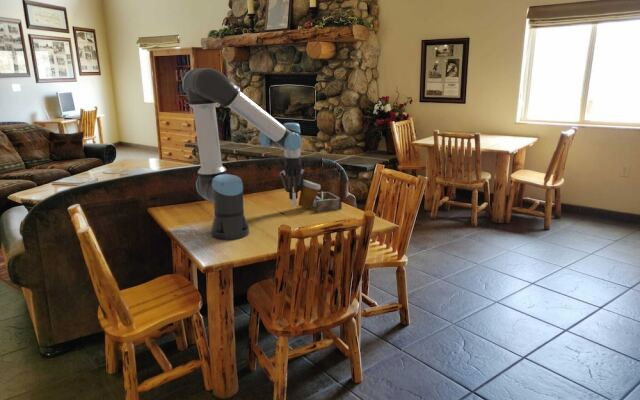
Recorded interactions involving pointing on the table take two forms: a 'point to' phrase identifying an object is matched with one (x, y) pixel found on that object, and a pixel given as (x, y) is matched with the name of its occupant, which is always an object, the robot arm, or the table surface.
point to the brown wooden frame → (328, 202)
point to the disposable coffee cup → (308, 193)
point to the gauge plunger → (317, 199)
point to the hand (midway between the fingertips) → (293, 205)
